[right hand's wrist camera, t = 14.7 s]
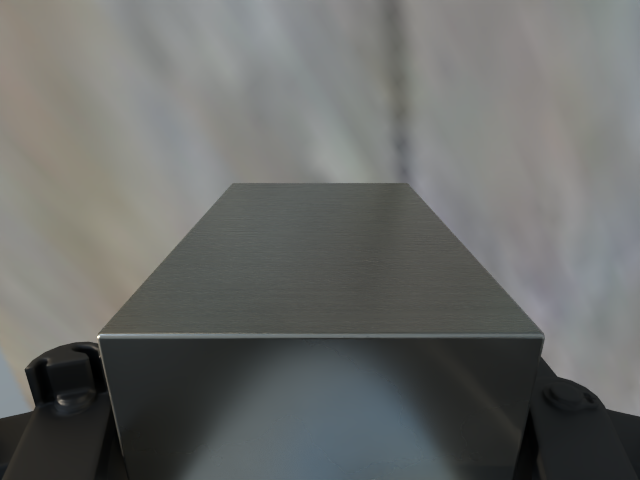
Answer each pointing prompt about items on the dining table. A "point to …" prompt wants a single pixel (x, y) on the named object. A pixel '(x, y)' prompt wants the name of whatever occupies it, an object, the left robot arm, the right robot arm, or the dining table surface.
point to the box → (320, 346)
